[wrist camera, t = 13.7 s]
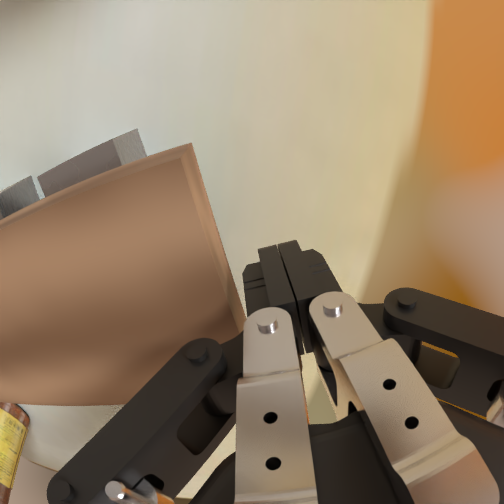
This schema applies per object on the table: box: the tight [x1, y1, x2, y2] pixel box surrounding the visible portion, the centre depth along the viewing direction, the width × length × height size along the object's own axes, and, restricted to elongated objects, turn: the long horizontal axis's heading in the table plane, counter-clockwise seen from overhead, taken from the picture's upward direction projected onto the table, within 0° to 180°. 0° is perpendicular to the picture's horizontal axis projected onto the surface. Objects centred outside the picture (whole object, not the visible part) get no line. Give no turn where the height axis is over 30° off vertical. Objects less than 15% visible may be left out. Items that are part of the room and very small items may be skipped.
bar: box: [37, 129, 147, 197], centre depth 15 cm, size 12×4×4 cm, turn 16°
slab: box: [0, 143, 246, 406], centre depth 12 cm, size 10×18×3 cm, turn 104°
